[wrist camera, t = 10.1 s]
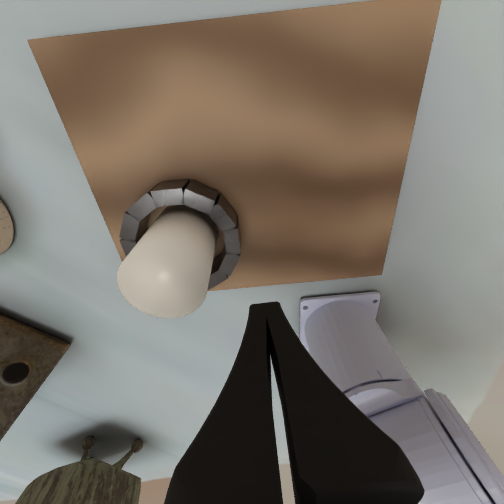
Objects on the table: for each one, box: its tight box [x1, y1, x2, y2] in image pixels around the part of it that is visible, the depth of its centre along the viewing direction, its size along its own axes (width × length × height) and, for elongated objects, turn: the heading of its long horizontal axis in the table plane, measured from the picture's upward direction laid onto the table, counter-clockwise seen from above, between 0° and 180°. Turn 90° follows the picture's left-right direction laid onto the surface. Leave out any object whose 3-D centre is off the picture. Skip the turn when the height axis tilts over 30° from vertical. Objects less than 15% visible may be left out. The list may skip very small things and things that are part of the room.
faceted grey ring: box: [119, 178, 241, 290], centre depth 18 cm, size 8×8×2 cm
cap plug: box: [117, 204, 218, 318], centre depth 16 cm, size 5×5×7 cm
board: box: [27, 0, 441, 291], centre depth 18 cm, size 18×22×2 cm
